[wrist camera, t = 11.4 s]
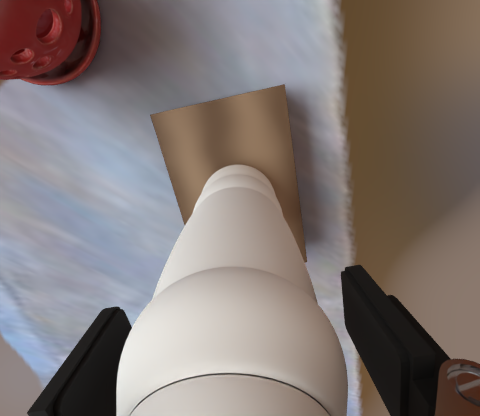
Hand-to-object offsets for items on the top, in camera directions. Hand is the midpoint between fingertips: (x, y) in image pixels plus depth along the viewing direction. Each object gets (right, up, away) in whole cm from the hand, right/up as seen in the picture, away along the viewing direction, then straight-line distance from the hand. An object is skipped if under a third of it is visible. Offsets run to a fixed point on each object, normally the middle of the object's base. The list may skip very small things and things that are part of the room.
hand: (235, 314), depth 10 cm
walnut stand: (0, +7, +18) cm, 19 cm away
